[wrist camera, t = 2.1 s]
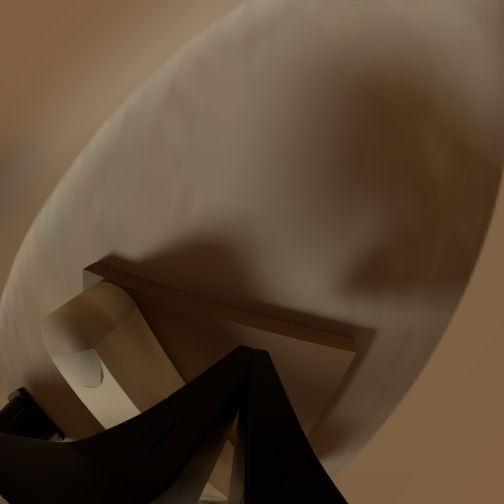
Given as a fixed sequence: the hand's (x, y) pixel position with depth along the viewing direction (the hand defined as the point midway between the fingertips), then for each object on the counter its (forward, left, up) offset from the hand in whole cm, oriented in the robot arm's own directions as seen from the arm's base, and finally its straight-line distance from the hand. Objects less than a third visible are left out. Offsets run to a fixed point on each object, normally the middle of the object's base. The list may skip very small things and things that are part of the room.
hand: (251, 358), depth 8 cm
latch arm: (-6, -3, -2) cm, 7 cm away
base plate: (-8, -5, -3) cm, 10 cm away
